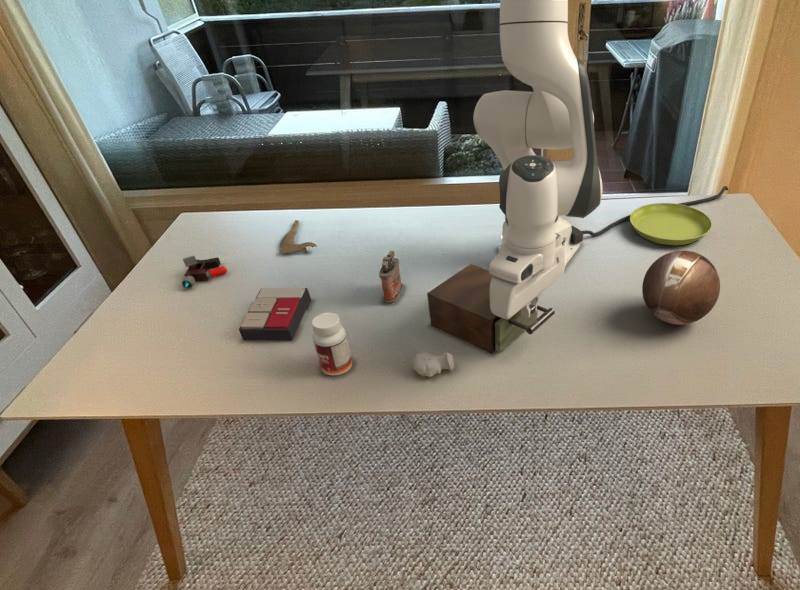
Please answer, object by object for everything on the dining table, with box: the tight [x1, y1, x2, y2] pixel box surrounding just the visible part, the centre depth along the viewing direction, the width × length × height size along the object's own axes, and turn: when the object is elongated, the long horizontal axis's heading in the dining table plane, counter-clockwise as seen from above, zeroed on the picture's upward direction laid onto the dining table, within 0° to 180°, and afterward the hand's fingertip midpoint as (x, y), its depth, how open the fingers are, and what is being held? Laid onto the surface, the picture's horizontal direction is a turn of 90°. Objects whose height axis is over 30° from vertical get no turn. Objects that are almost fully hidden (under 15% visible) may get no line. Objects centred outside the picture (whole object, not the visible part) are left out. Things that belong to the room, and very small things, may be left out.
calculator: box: [238, 287, 312, 341], centre depth 124 cm, size 11×4×15 cm
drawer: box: [493, 304, 556, 353], centre depth 117 cm, size 21×13×7 cm, turn 52°
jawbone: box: [279, 219, 318, 255], centre depth 154 cm, size 9×20×2 cm, turn 29°
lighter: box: [378, 249, 404, 305], centre depth 129 cm, size 8×3×10 cm, turn 168°
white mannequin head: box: [413, 352, 455, 378], centre depth 109 cm, size 4×8×5 cm
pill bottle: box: [311, 312, 353, 376], centre depth 109 cm, size 6×6×11 cm
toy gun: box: [181, 255, 228, 290], centre depth 139 cm, size 10×12×5 cm
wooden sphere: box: [641, 249, 721, 326], centre depth 116 cm, size 15×15×15 cm
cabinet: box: [426, 263, 498, 355], centre depth 119 cm, size 16×14×8 cm
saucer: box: [629, 202, 713, 246], centre depth 149 cm, size 21×21×3 cm
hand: (528, 314), depth 111 cm, fingers closed
